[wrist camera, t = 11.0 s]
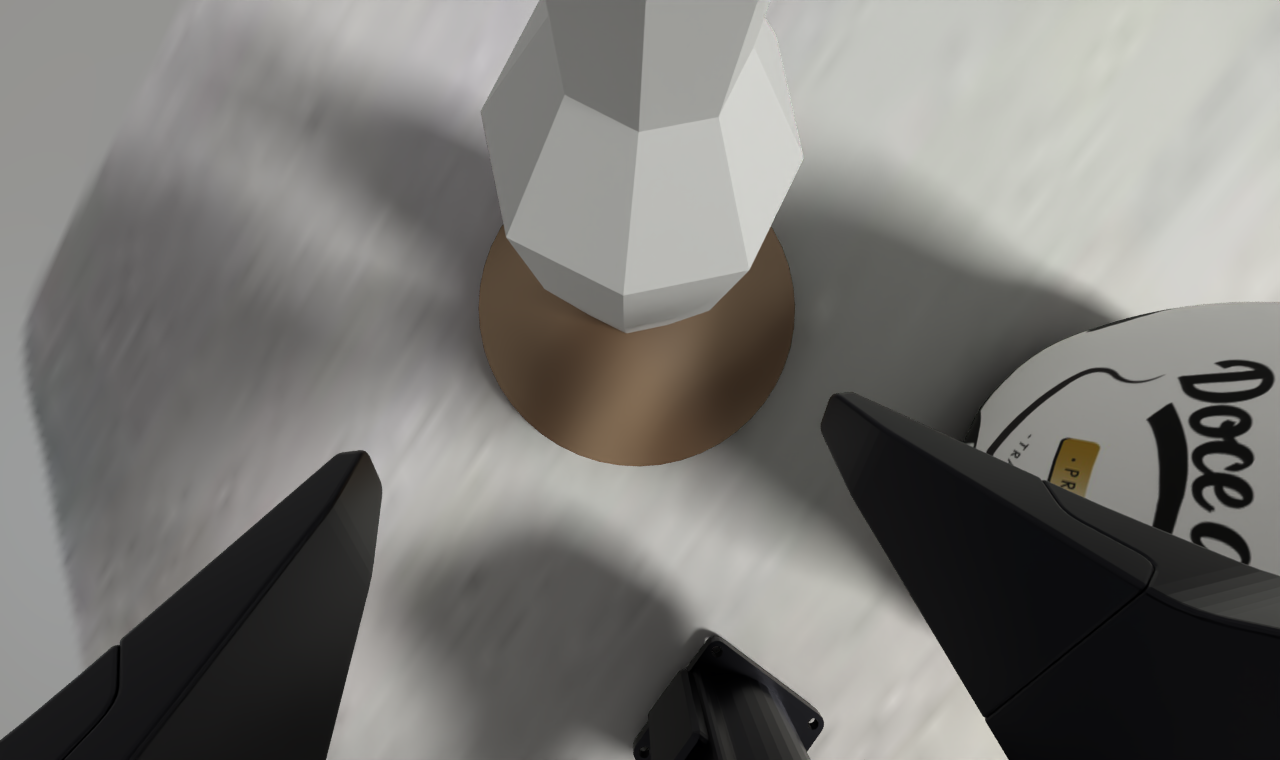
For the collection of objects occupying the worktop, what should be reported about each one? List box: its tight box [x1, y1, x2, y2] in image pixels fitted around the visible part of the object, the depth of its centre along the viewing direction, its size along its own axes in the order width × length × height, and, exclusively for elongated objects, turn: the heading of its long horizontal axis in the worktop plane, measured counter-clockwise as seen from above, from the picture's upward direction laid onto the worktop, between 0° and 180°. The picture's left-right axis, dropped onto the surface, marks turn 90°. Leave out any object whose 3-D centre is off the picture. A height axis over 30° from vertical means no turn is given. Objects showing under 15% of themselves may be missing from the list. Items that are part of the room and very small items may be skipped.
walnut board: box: [479, 224, 795, 466], centre depth 21 cm, size 14×14×2 cm
